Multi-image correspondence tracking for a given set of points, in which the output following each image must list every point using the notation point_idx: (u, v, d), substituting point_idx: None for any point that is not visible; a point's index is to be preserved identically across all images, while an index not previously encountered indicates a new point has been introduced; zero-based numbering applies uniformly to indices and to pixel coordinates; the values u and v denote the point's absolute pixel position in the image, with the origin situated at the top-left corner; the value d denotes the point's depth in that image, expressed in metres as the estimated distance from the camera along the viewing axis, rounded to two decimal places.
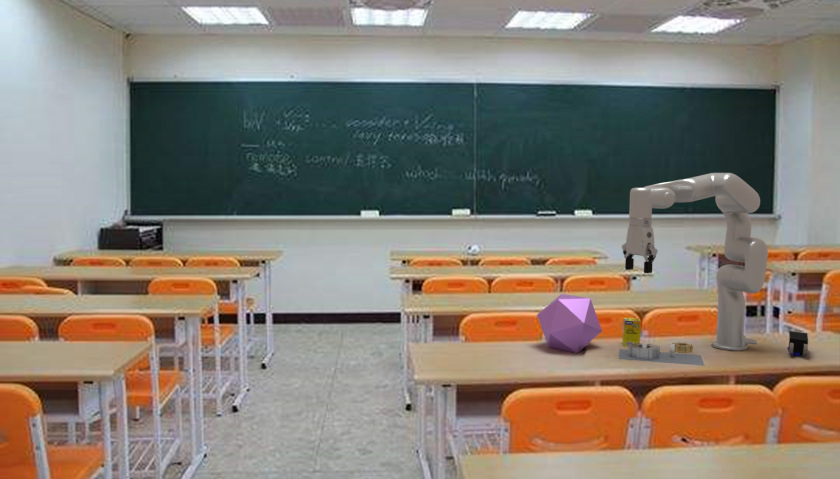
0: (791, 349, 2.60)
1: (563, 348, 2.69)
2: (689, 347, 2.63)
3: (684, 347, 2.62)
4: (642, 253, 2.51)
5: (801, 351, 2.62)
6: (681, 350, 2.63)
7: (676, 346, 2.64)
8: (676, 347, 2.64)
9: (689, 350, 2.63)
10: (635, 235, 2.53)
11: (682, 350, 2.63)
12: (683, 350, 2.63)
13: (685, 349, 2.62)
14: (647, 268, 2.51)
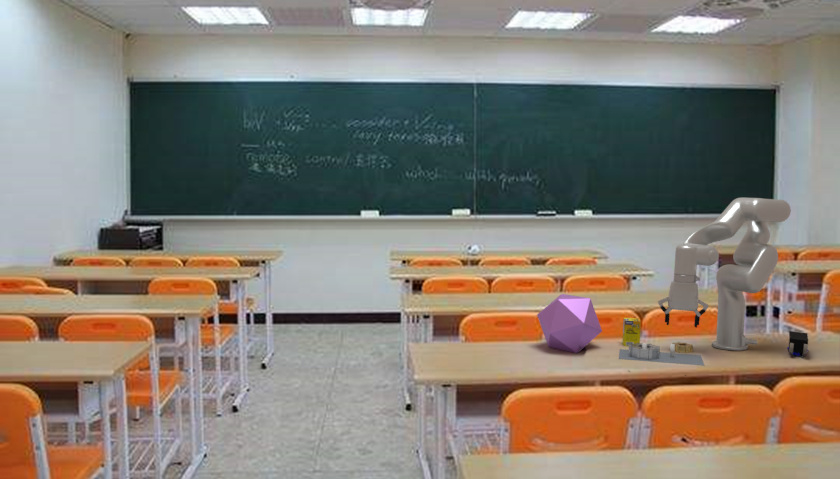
0: (791, 349, 2.60)
1: (563, 348, 2.69)
2: (689, 347, 2.63)
3: (684, 347, 2.62)
4: (695, 309, 2.61)
5: (801, 351, 2.62)
6: (681, 350, 2.63)
7: (676, 346, 2.64)
8: (676, 347, 2.64)
9: (689, 350, 2.63)
10: (686, 291, 2.61)
11: (682, 350, 2.63)
12: (683, 350, 2.63)
13: (685, 349, 2.62)
14: (698, 322, 2.62)
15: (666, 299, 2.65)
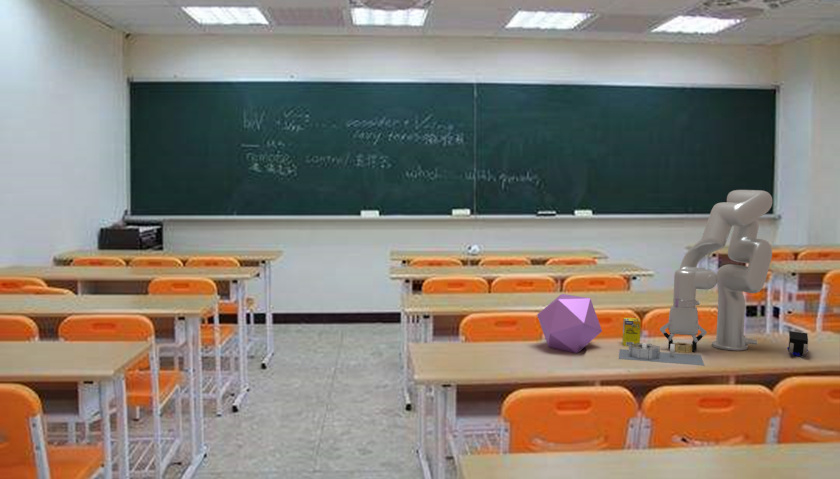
0: (791, 349, 2.60)
1: (563, 348, 2.69)
2: (689, 347, 2.63)
3: (684, 347, 2.62)
4: (695, 333, 2.62)
5: (801, 351, 2.62)
6: (681, 350, 2.63)
7: (676, 346, 2.64)
8: (676, 347, 2.64)
9: (689, 350, 2.63)
10: (686, 316, 2.62)
11: (682, 350, 2.63)
12: (683, 350, 2.63)
13: (685, 349, 2.62)
14: (695, 348, 2.64)
15: (667, 325, 2.66)
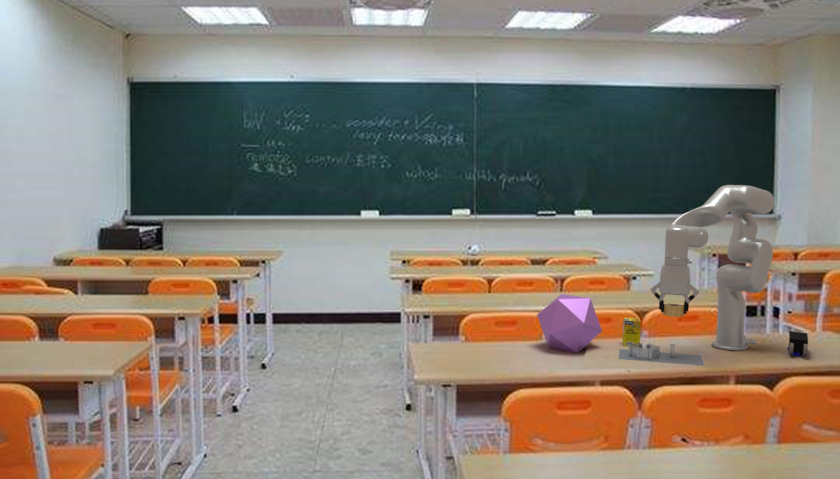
0: (791, 349, 2.60)
1: (563, 348, 2.69)
2: (681, 307, 2.52)
3: (675, 307, 2.52)
4: (687, 293, 2.51)
5: (801, 351, 2.62)
6: (672, 310, 2.52)
7: (667, 306, 2.53)
8: (667, 308, 2.53)
9: (681, 311, 2.52)
10: (677, 275, 2.51)
11: (673, 310, 2.52)
12: (674, 310, 2.52)
13: (676, 309, 2.51)
14: (687, 309, 2.53)
15: (658, 285, 2.55)
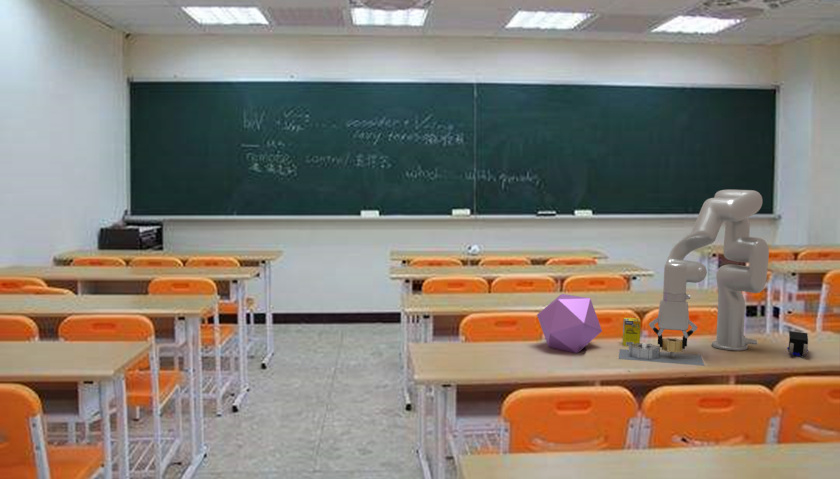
0: (791, 349, 2.60)
1: (563, 348, 2.69)
2: (679, 343, 2.53)
3: (674, 343, 2.53)
4: (685, 328, 2.52)
5: (801, 351, 2.62)
6: (671, 346, 2.53)
7: (666, 342, 2.54)
8: (666, 343, 2.54)
9: (679, 346, 2.53)
10: (676, 311, 2.52)
11: (672, 346, 2.53)
12: (673, 346, 2.53)
13: (675, 345, 2.52)
14: (685, 344, 2.54)
15: (656, 320, 2.56)
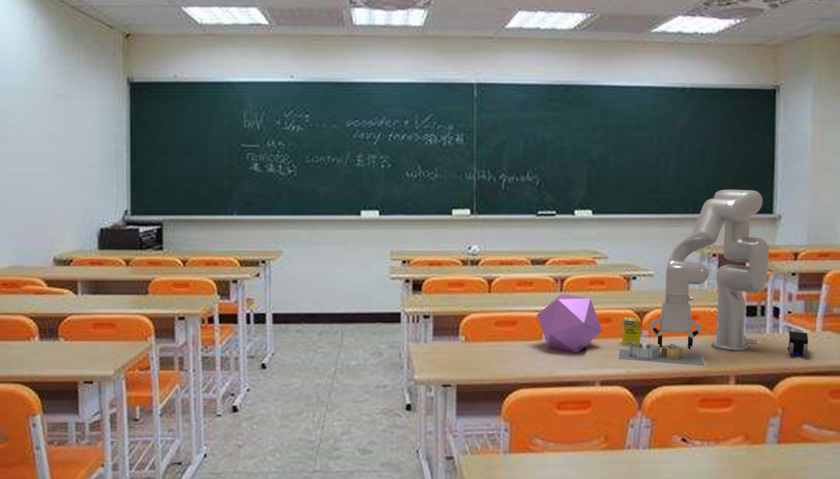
0: (791, 349, 2.60)
1: (563, 348, 2.69)
2: (679, 350, 2.53)
3: (674, 350, 2.53)
4: (688, 330, 2.52)
5: (801, 351, 2.62)
6: (670, 353, 2.53)
7: (665, 349, 2.55)
8: (665, 350, 2.55)
9: (679, 353, 2.53)
10: (678, 313, 2.52)
11: (671, 353, 2.53)
12: (673, 353, 2.53)
13: (675, 352, 2.53)
14: (691, 344, 2.53)
15: (658, 321, 2.56)
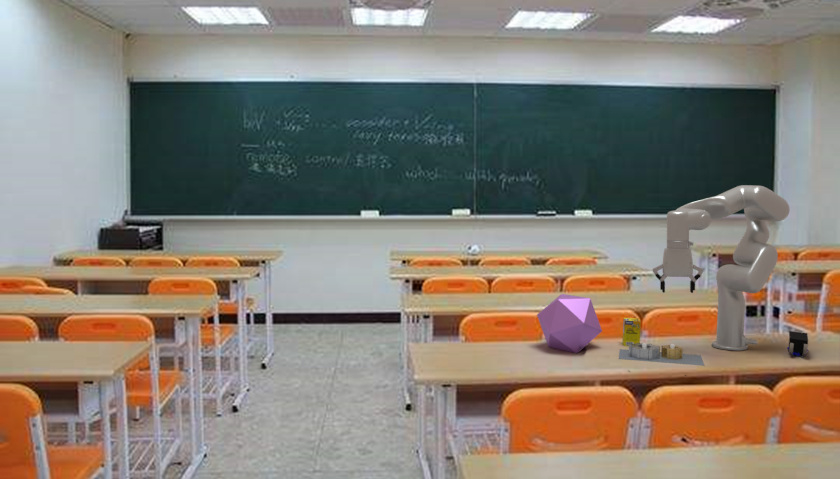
0: (791, 349, 2.60)
1: (563, 348, 2.69)
2: (679, 350, 2.53)
3: (674, 350, 2.53)
4: (690, 274, 2.59)
5: (801, 351, 2.62)
6: (670, 353, 2.53)
7: (665, 349, 2.55)
8: (665, 350, 2.55)
9: (679, 353, 2.53)
10: (680, 258, 2.59)
11: (671, 353, 2.53)
12: (673, 353, 2.53)
13: (675, 352, 2.53)
14: (693, 288, 2.60)
15: (660, 266, 2.62)
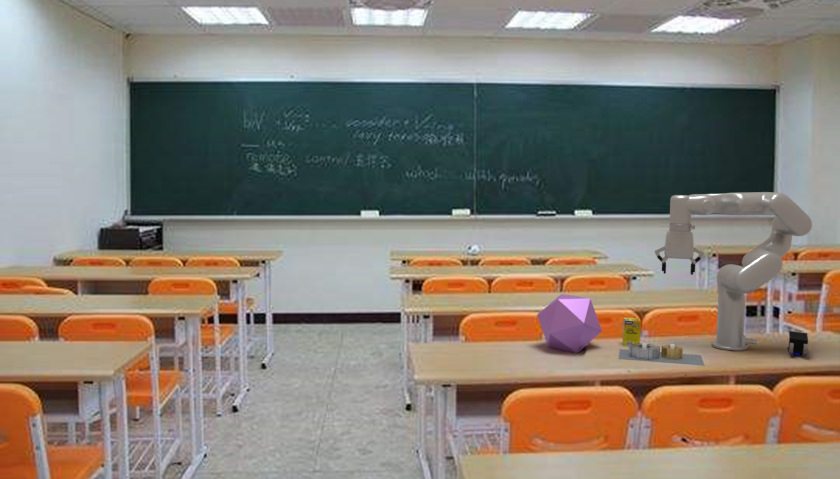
0: (791, 349, 2.60)
1: (563, 348, 2.69)
2: (679, 350, 2.53)
3: (674, 350, 2.53)
4: (690, 256, 2.69)
5: (801, 351, 2.62)
6: (670, 353, 2.53)
7: (665, 349, 2.55)
8: (665, 350, 2.55)
9: (679, 353, 2.53)
10: (681, 240, 2.69)
11: (671, 353, 2.53)
12: (673, 353, 2.53)
13: (675, 352, 2.53)
14: (694, 270, 2.70)
15: (662, 248, 2.73)
